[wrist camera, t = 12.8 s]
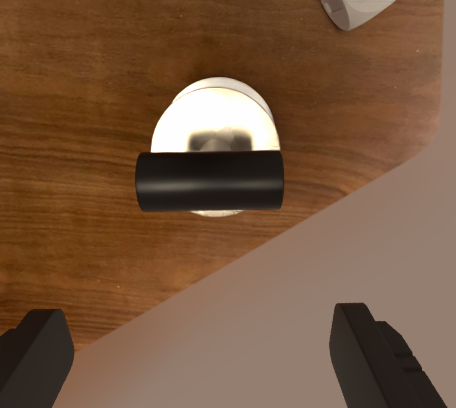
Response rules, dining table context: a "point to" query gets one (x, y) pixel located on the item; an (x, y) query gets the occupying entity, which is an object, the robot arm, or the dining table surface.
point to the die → (353, 11)
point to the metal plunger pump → (212, 153)
